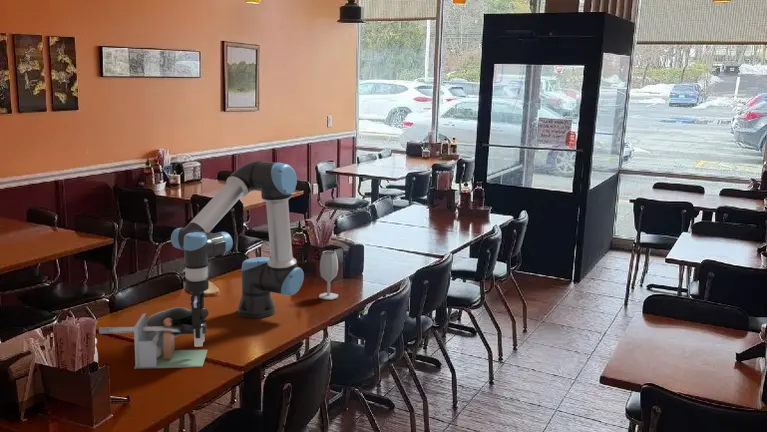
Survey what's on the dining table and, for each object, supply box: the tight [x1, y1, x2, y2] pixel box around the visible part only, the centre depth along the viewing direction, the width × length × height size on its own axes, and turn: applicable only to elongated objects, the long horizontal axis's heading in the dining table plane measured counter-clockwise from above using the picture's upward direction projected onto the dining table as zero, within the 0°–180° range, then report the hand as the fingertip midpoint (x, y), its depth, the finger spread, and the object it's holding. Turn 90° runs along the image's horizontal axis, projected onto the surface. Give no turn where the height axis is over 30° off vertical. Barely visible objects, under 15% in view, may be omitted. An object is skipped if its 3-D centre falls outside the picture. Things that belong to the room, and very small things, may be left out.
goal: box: [133, 312, 164, 369], centre depth 233 cm, size 7×14×14 cm, turn 7°
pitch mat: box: [134, 349, 208, 370], centre depth 235 cm, size 22×14×1 cm, turn 97°
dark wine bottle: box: [147, 306, 209, 338], centre depth 240 cm, size 10×10×33 cm
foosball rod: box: [98, 318, 208, 359], centre depth 233 cm, size 35×6×14 cm, turn 97°
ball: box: [156, 345, 162, 358], centre depth 234 cm, size 5×5×5 cm
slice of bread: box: [189, 280, 221, 298], centre depth 312 cm, size 18×18×4 cm
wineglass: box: [318, 250, 339, 301], centre depth 305 cm, size 9×9×21 cm
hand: (199, 343), depth 235 cm, fingers closed on foosball rod, 3 cm apart
